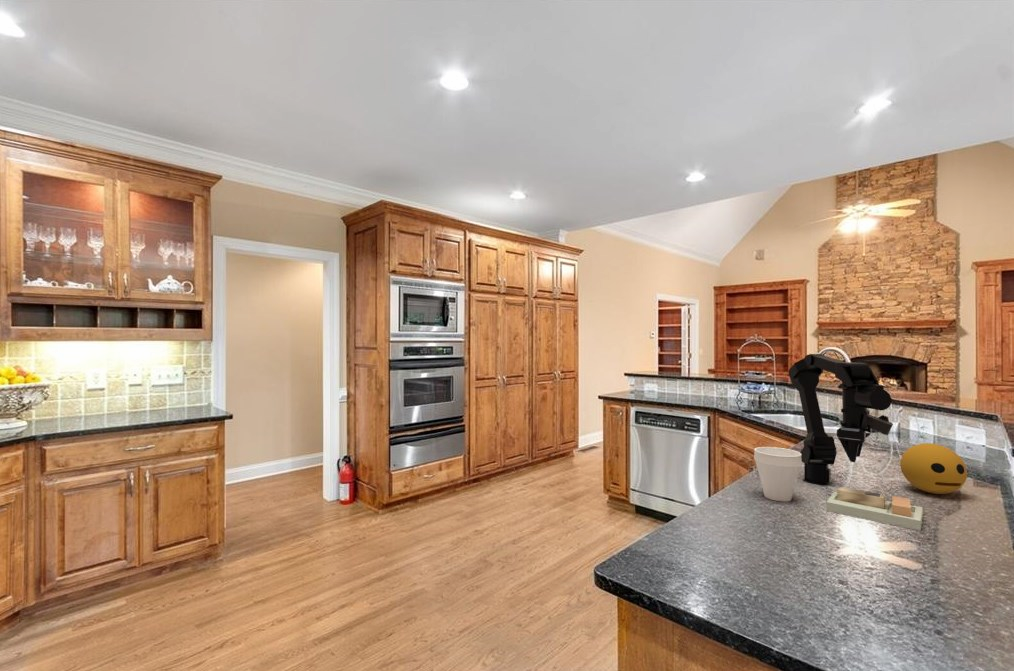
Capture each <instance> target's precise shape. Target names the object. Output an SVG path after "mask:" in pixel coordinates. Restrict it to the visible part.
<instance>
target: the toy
mask: <svg viewBox="0 0 1014 671" xmlns="http://www.w3.org/2000/svg"><path fill="white" fill-rule="evenodd" d="M899 464H900V467H899V468H900V470H901V472H902V474H903V477H904V478H905V479H906V480H907V482H908V483H910V485H912V486H914V487H915V488H917V489H919V490H921V491H923V492H926V493H928V494H935V495H945V494H950V493H954V492H955V491H958V490H959V489H961V488H962V487H963V486H964V484H965V483H966V481H967V478H968V469H967V466H966V464H965V462H964V460H963V459H962V458H961V456H960V455H958V454H957V453H956V452H955V451H954V450H952V449H950V448H948V447H946V446H943V445H940V444H937V443H931V442H930V443H929V442H927V443H926V442H925V443H924V442H923V443H918V444H915V445H912V446H910V447H909V448H907V449H906V450H905V451H904V452H903V453H902V455H901V458H900V463H899Z"/></svg>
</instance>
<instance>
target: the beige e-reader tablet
mask: <svg viewBox="0 0 1014 671" xmlns="http://www.w3.org/2000/svg"><path fill="white" fill-rule="evenodd" d="M837 500H839V501H844V502H849V503H854V504H859V505H865V506H870V507H875V508H880V509H885V501H886V495H885V494H881V493H879V492H873V491H864V490H858V489H853V488H846V487H840V486H839V487H838V488H837Z"/></svg>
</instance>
